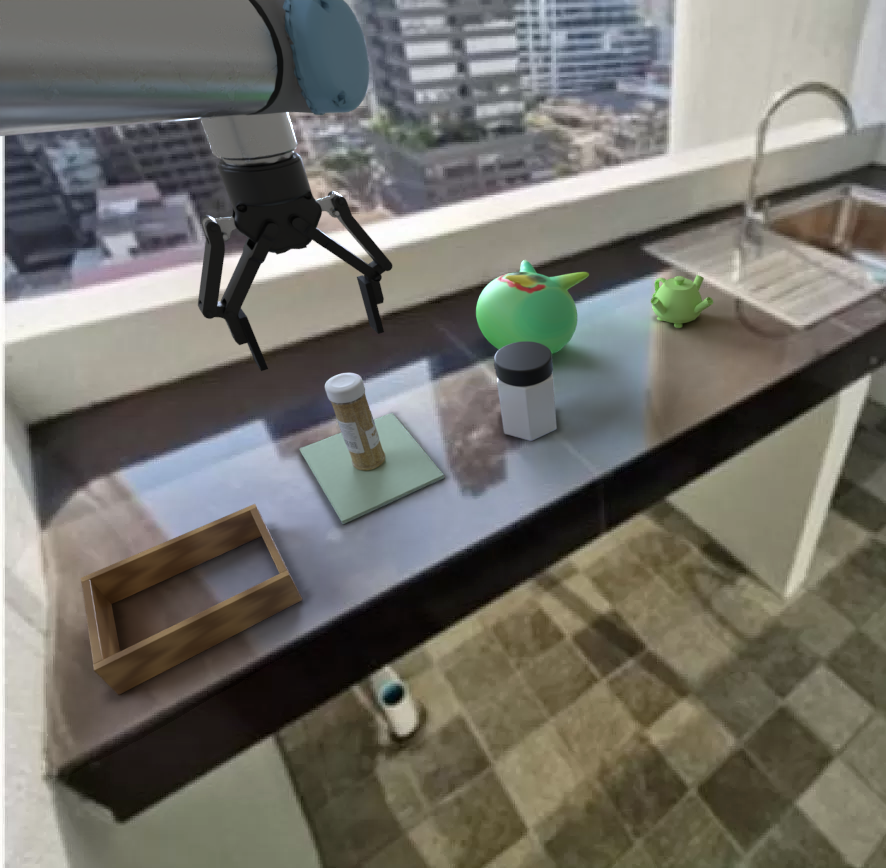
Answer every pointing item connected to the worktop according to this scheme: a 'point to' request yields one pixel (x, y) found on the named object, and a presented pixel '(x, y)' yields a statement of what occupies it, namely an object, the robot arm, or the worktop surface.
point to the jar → (526, 389)
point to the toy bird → (529, 308)
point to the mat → (374, 487)
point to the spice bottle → (355, 420)
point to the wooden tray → (195, 631)
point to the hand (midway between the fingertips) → (322, 346)
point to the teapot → (679, 300)
